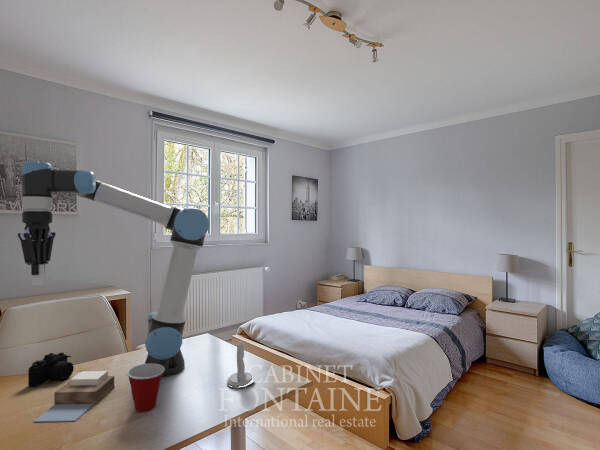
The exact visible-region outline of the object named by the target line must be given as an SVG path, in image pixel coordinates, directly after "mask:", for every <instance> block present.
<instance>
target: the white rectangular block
mask: <svg viewBox="0 0 600 450" xmlns="http://www.w3.org/2000/svg"><path fill="white" fill-rule="evenodd" d="M108 376H109V371H108V370H99V371H98V370H95V371H91V370H90V371H80V372H79V373H77V374H76V375H75V376H73V377H71V378H70V381H69V382H70V385H98V384H100V383H101V382H102V381H103V380H104V379H106V378H107V377H108Z"/></svg>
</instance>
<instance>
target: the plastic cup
mask: <svg viewBox="0 0 600 450" xmlns="http://www.w3.org/2000/svg"><path fill="white" fill-rule="evenodd" d="M164 370H165V368H164V367H163V366H162V365H159V364H152V363H149V364H145V363H141V364H137V365H135V366H132V367H130V368H129V369H128V370H127V372H126V375H127V377H128V381H129V385H130V390H131V396H132V401H133V404H134V409H135V411H136V412H137V413H146V412H149V411H152V410H153V409H155V408H156V405H157V399H158V395H159V390H160V384H161V380H162V377H161V376H162V374H163V372H164Z"/></svg>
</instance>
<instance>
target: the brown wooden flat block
mask: <svg viewBox="0 0 600 450" xmlns="http://www.w3.org/2000/svg"><path fill="white" fill-rule="evenodd" d="M114 388H115V375H108V377H107V378H106V379H104V380H103V381H102V382H101V383H100V384H98V385H70V381H68V382H67V383H66V384H65V385H64V384H63V386H62V387H60V388H59V389H57V390H56V391H54V393H53V394H54V395H53V396H54V405H55V404H94V405H96V404H98V403H99V402H100V401H101V400H102V399H104V398H105V396H107V395H108V394H109V393H110V392H112V390H113V389H114Z"/></svg>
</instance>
